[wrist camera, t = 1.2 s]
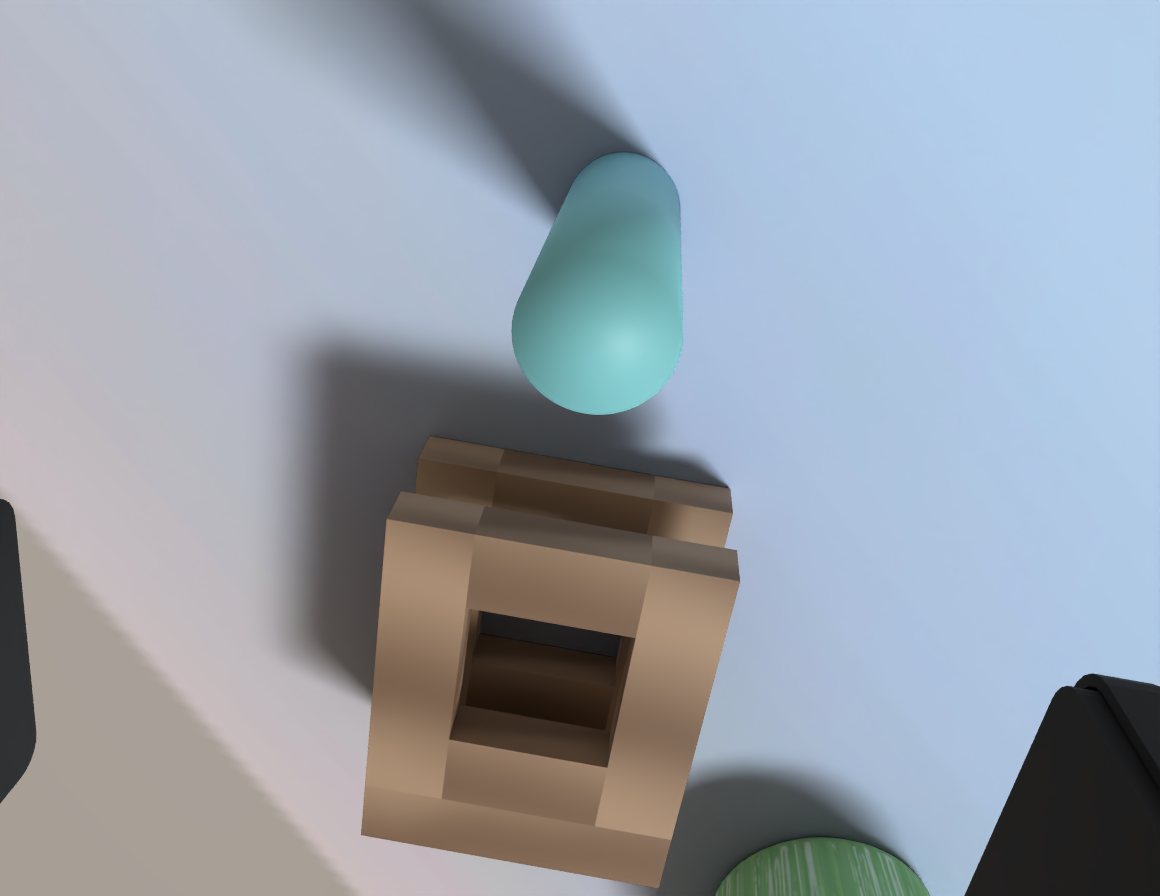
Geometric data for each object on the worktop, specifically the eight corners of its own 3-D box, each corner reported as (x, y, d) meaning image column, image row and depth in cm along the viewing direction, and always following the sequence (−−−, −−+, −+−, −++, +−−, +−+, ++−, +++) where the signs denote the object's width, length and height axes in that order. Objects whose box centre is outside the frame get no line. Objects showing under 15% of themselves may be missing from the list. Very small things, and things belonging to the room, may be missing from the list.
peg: (575, 142, 26) (522, 237, 17) (690, 162, 26) (699, 267, 17) (558, 256, 27) (501, 398, 18) (668, 275, 27) (665, 428, 18)
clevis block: (429, 435, 30) (386, 518, 26) (730, 488, 30) (739, 581, 26) (401, 722, 35) (361, 834, 30) (660, 768, 35) (658, 888, 30)
